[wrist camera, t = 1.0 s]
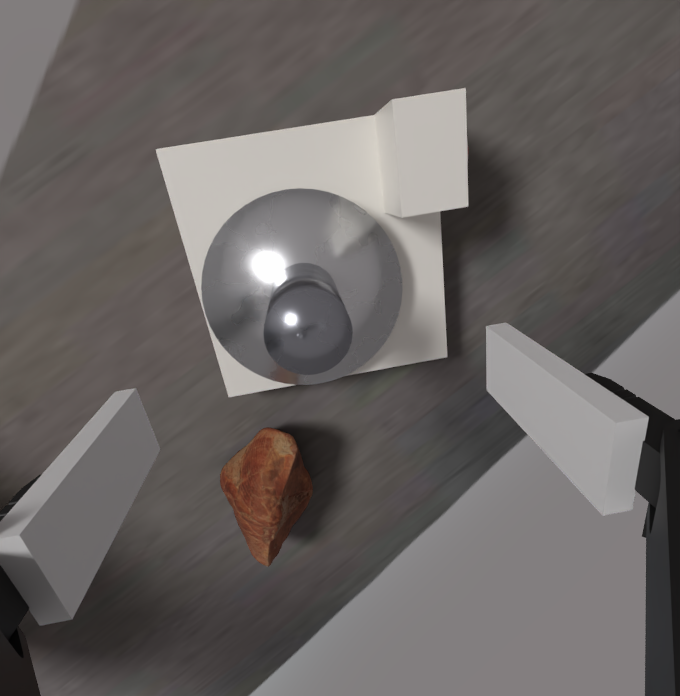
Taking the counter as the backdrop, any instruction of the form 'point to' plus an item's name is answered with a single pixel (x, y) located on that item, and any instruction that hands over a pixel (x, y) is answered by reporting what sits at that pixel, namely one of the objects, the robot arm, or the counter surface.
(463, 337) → the counter surface
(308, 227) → the pan
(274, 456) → the brown lumpy chunk
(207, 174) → the scale
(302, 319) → the metal cylinder
